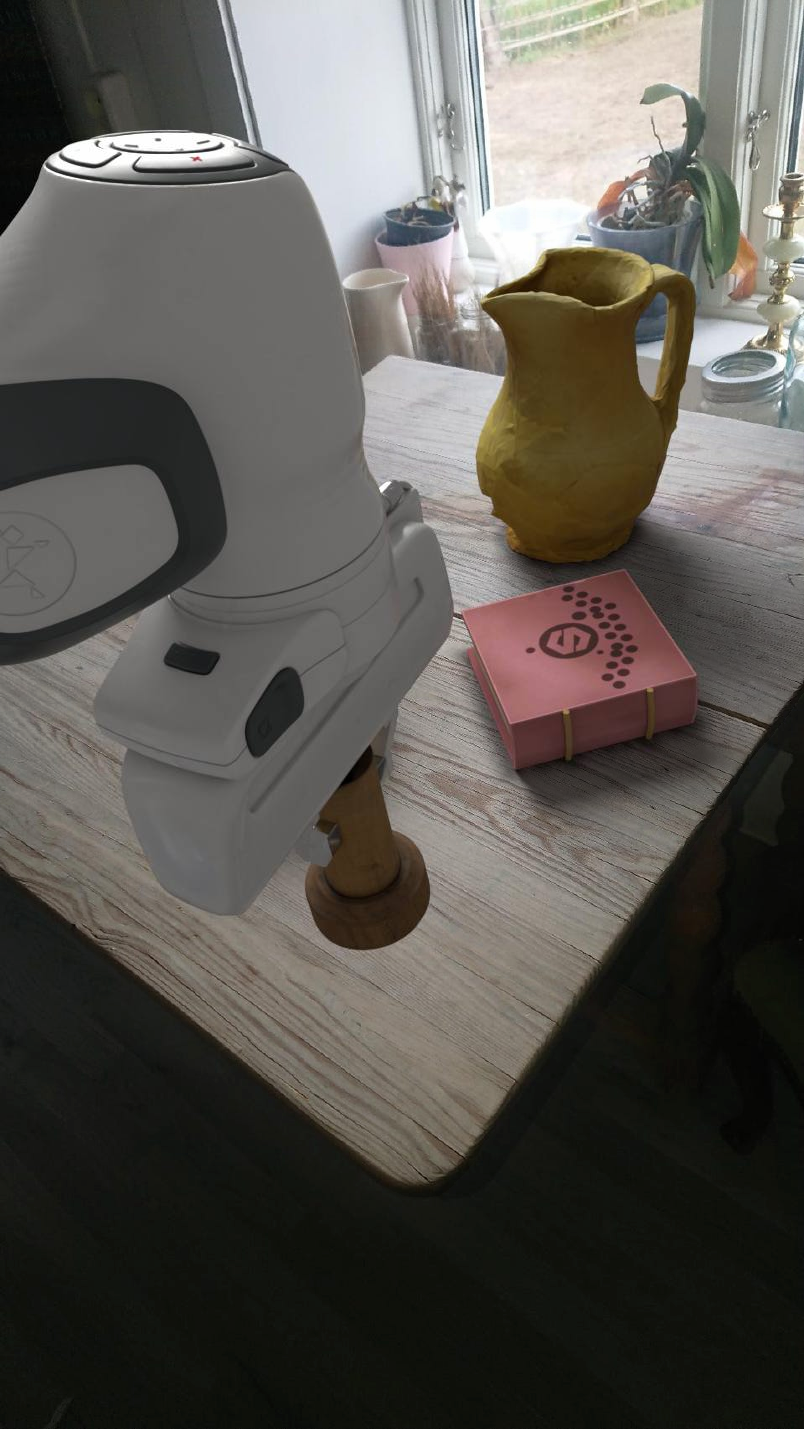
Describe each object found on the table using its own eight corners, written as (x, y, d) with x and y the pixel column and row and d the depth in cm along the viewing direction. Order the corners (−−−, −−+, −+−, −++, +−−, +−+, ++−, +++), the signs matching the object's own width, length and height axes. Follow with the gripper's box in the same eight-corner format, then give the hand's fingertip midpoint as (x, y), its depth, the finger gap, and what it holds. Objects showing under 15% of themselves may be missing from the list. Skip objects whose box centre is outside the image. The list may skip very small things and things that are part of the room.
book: (518, 778, 74) (513, 732, 71) (467, 655, 85) (460, 610, 82) (698, 730, 75) (702, 682, 71) (624, 614, 86) (624, 568, 82)
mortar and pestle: (348, 838, 56) (278, 587, 44) (450, 869, 54) (405, 612, 42) (290, 930, 52) (195, 682, 40) (397, 968, 50) (331, 715, 37)
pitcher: (498, 475, 105) (488, 233, 87) (677, 485, 100) (706, 231, 82) (462, 575, 94) (443, 321, 76) (662, 592, 89) (691, 325, 71)
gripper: (351, 451, 46) (393, 669, 56) (57, 738, 34) (174, 955, 44) (470, 468, 44) (493, 695, 53) (197, 787, 31) (290, 1007, 41)
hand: (347, 815), depth 48 cm, fingers closed on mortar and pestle, 4 cm apart
